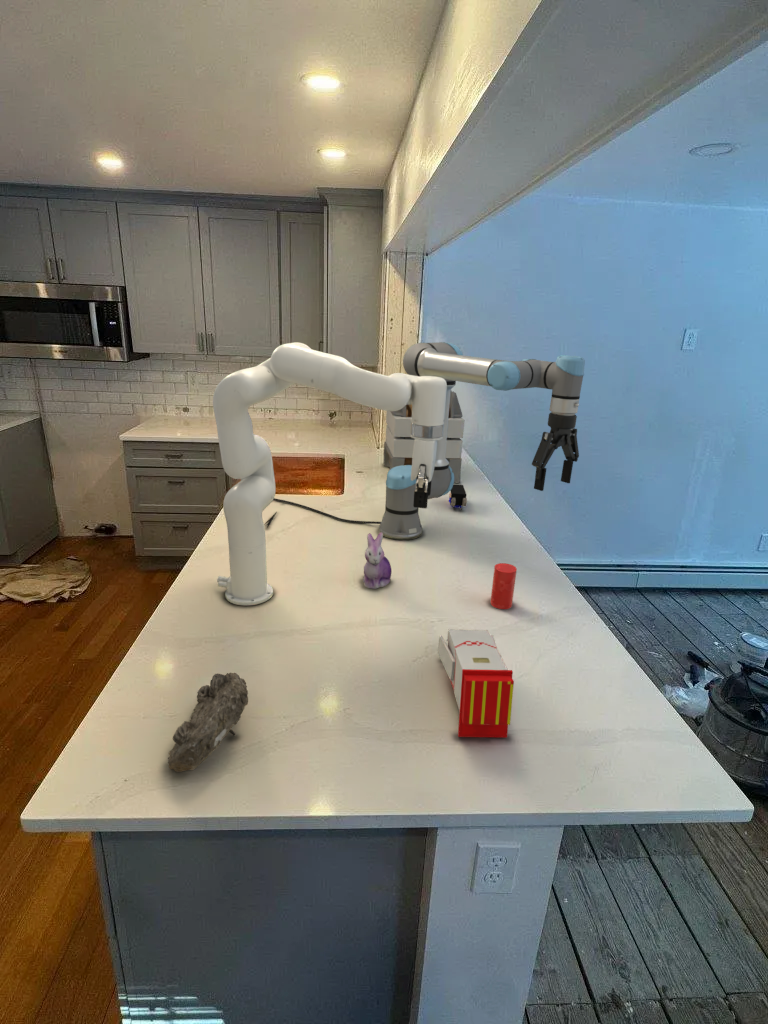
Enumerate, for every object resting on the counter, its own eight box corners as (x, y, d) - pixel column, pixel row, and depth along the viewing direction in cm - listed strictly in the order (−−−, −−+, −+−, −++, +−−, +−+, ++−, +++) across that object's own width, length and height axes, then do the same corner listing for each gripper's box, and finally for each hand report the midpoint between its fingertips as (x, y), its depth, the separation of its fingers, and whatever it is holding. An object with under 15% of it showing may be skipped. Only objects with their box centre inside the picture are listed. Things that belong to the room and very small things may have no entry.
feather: (284, 506, 225) (286, 502, 224) (266, 530, 198) (268, 525, 198) (280, 504, 225) (282, 500, 224) (261, 527, 198) (264, 523, 197)
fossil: (194, 673, 113) (248, 641, 108) (227, 704, 116) (281, 674, 111) (142, 765, 94) (204, 730, 89) (183, 800, 97) (246, 768, 92)
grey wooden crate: (382, 463, 289) (386, 382, 275) (445, 464, 293) (451, 384, 279) (390, 482, 257) (394, 392, 243) (460, 483, 261) (468, 394, 247)
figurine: (369, 592, 157) (371, 543, 152) (354, 577, 166) (355, 529, 161) (399, 586, 162) (402, 538, 157) (383, 572, 170) (385, 525, 165)
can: (487, 605, 154) (491, 568, 150) (494, 596, 159) (499, 561, 155) (507, 611, 151) (512, 574, 148) (514, 602, 156) (519, 566, 152)
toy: (488, 613, 130) (523, 677, 101) (484, 667, 133) (517, 744, 104) (435, 612, 130) (455, 676, 101) (432, 666, 133) (451, 743, 103)
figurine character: (467, 515, 225) (461, 499, 238) (469, 498, 221) (463, 482, 235) (450, 514, 224) (445, 498, 238) (452, 497, 221) (447, 482, 234)
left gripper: (414, 423, 140) (410, 489, 146) (406, 437, 124) (402, 511, 130) (445, 425, 139) (439, 491, 145) (440, 440, 123) (435, 514, 129)
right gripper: (548, 419, 148) (537, 496, 155) (598, 411, 163) (586, 482, 171) (525, 414, 153) (515, 489, 160) (575, 407, 169) (564, 476, 176)
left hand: (422, 500), depth 137 cm, fingers open, 9 cm apart
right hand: (552, 485), depth 166 cm, fingers open, 13 cm apart
